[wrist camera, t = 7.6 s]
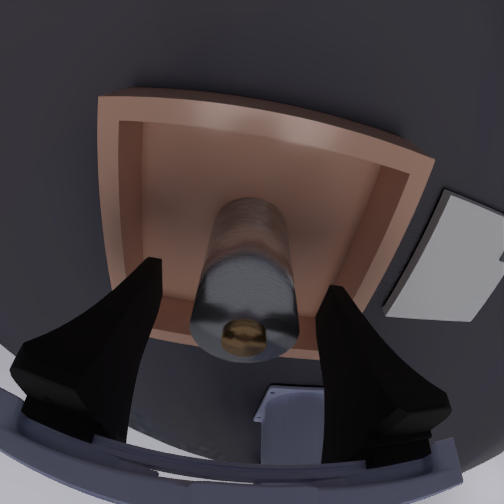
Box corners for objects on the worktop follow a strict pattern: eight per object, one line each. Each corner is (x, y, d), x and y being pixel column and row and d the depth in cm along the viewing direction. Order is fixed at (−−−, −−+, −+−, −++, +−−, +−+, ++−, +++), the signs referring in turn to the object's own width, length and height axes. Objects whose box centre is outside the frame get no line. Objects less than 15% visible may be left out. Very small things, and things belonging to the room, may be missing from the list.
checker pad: (467, 315, 21) (471, 323, 21) (382, 308, 21) (386, 318, 20) (524, 223, 16) (531, 230, 15) (444, 189, 15) (452, 196, 14)
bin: (325, 321, 21) (332, 360, 19) (135, 294, 20) (120, 331, 17) (402, 137, 13) (435, 159, 10) (131, 86, 12) (98, 96, 9)
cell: (277, 264, 18) (284, 376, 12) (210, 254, 17) (186, 365, 11) (294, 204, 15) (316, 313, 9) (217, 191, 15) (188, 296, 9)
